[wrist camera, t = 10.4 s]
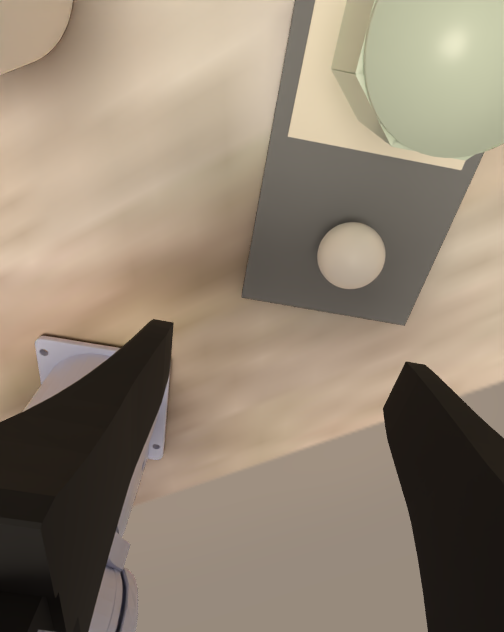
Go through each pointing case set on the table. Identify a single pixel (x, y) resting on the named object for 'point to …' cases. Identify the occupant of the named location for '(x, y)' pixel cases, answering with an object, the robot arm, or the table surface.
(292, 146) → the mat
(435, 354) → the table surface
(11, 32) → the cup
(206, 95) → the table surface
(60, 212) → the table surface
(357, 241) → the marble
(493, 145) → the sage cup
